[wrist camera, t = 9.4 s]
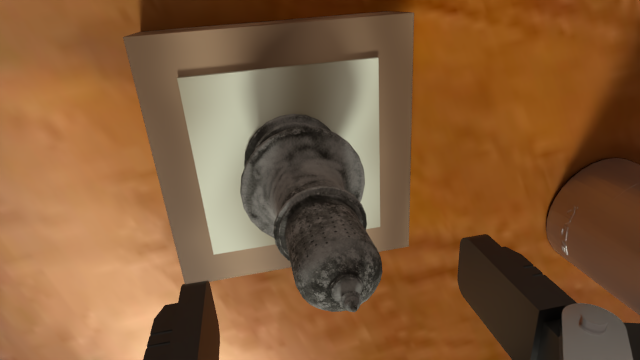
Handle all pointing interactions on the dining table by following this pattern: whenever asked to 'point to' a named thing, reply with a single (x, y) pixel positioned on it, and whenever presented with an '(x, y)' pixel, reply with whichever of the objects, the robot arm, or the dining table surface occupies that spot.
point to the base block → (264, 105)
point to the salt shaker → (312, 209)
